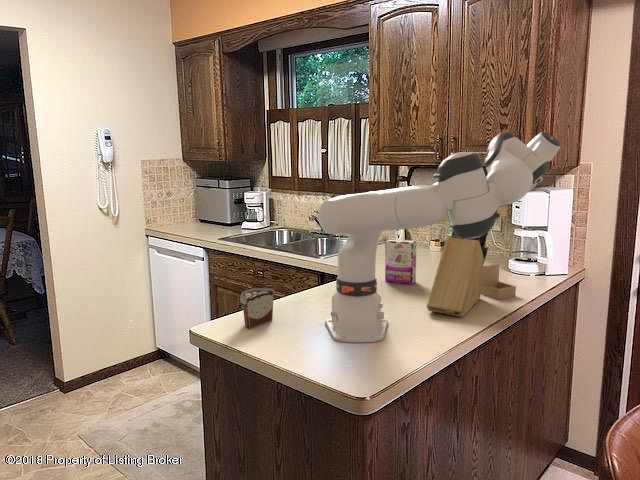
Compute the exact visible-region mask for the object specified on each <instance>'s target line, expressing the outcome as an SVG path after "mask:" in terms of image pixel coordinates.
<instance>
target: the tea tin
mask: <svg viewBox="0 0 640 480" xmlns="http://www.w3.org/2000/svg"><path fill="white" fill-rule="evenodd" d="M497 213H500V217H499V218H503V217H508V216H507V215H508V204H507V205H502V206H499V207H498V208H497Z"/></svg>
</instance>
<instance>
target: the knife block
mask: <svg viewBox="0 0 640 480" xmlns="http://www.w3.org/2000/svg"><path fill="white" fill-rule="evenodd" d="M488 235H489V232H488V233H486V234H484V235H482V236H480V237H477V238H460V237H458V236H456V235H455V233H454V232H453V231H452V233H451V236H450V237H446V240H445V242H444V245H443V250H442V252H441V256H440V259H439V263H438V267H437V269H436V272H435V273H436V274H435V276H434V280H433V284H432V287H431V289H430V294H429V297H428V301H427V303H426V308H427V311H428V312H432V313H440V314H444V315H450V316H456V317H464V316H465V315H466V314H467V313H468V312H469V311H470V309H471V308H473V306H474V304H475V303H477V302H478V301H479V300H480V299H481V295H482V294H481V282H482V267H483V266H484V264H485V260H486V257H487V253H488V249H489V246H488V247H487V246H486V243H487V236H488Z"/></svg>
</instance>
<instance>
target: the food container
mask: <svg viewBox="0 0 640 480" xmlns="http://www.w3.org/2000/svg"><path fill="white" fill-rule="evenodd" d="M274 296H276V292H275V289H274V288H270V287H268V288H267V287H260V288H259V287H257V288H250V289H246V290H244V291H243V292H241V295H240V298H239V302H240V303H241V304H242V310H243V317H244V325H245V328H246V329H248V330H253V329H255V328H257V327H260V326H263V325H266V324H269V323H271V322H273V319H274V318H273V314H274Z"/></svg>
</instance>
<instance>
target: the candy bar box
mask: <svg viewBox="0 0 640 480" xmlns="http://www.w3.org/2000/svg"><path fill="white" fill-rule="evenodd" d="M384 242H385V245H384V246H385V254H384V255H385V259H384V260H385V270H384V273H385V275H384V277H385V278H384V279H385V282H386V283H394V284H402V285H411V286H412V285H414V284H415V283H416V282H417V240H408V239H392V238H389V239H386V240H385V241H384Z"/></svg>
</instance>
